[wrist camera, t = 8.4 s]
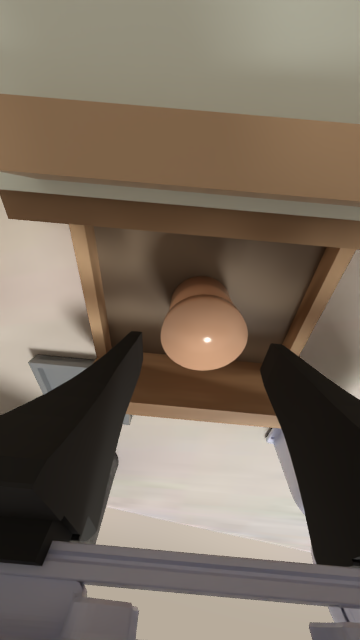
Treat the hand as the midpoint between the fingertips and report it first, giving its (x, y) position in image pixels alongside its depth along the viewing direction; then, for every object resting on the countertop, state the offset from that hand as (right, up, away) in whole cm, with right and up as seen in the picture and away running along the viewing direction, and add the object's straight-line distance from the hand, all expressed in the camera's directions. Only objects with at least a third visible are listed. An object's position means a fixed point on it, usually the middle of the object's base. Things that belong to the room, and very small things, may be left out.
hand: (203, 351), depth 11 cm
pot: (0, +3, +5) cm, 6 cm away
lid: (+1, +13, -7) cm, 15 cm away
